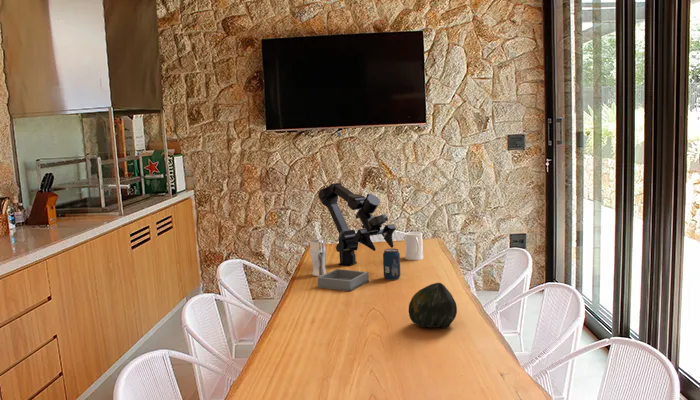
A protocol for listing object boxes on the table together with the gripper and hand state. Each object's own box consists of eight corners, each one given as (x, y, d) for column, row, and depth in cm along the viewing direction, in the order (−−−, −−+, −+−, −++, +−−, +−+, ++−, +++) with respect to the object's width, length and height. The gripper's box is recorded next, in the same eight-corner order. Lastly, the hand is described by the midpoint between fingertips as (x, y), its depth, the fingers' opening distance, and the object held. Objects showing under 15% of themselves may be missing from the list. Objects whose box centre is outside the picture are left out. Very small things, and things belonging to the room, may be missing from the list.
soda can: (390, 275, 261) (389, 247, 260) (403, 277, 257) (402, 249, 255) (380, 278, 256) (379, 250, 255) (394, 281, 252) (393, 252, 250)
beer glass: (328, 272, 270) (326, 238, 268) (326, 276, 263) (324, 242, 261) (312, 272, 271) (311, 239, 269) (310, 276, 264) (308, 242, 262)
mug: (426, 261, 284) (425, 235, 282) (407, 262, 283) (407, 236, 282) (421, 255, 295) (421, 231, 294) (404, 256, 295) (403, 231, 293)
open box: (318, 287, 247) (317, 277, 247) (337, 278, 260) (336, 269, 259) (350, 291, 240) (350, 281, 239) (368, 281, 253) (368, 272, 252)
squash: (398, 303, 204) (412, 277, 193) (438, 299, 209) (454, 273, 198) (412, 341, 195) (428, 316, 184) (454, 336, 200) (471, 311, 189)
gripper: (356, 210, 256) (373, 240, 249) (392, 205, 267) (409, 234, 259) (347, 227, 264) (362, 256, 256) (382, 221, 274) (398, 249, 266)
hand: (383, 248), depth 259 cm, fingers open, 9 cm apart
